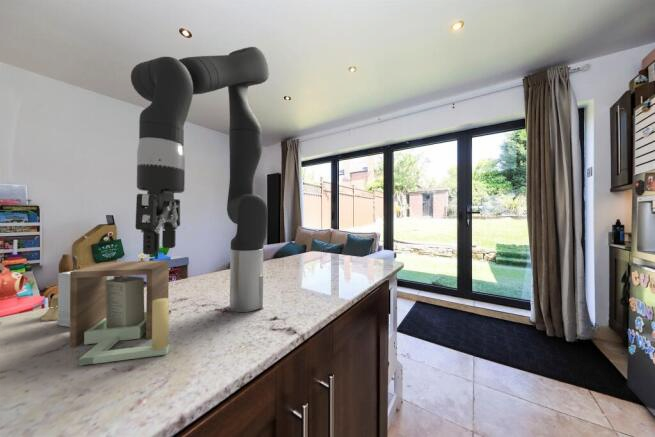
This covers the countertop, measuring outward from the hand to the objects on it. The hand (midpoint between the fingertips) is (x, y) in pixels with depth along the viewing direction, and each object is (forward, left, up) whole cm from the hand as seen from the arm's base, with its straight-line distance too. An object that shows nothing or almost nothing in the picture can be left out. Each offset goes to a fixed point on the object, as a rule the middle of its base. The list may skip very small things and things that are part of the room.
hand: (160, 250), depth 46 cm
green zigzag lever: (+7, -8, -20) cm, 22 cm away
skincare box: (+11, -12, -20) cm, 26 cm away
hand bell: (+31, -27, -20) cm, 46 cm away
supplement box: (+23, -21, -20) cm, 37 cm away
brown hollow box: (+11, -12, -20) cm, 26 cm away
